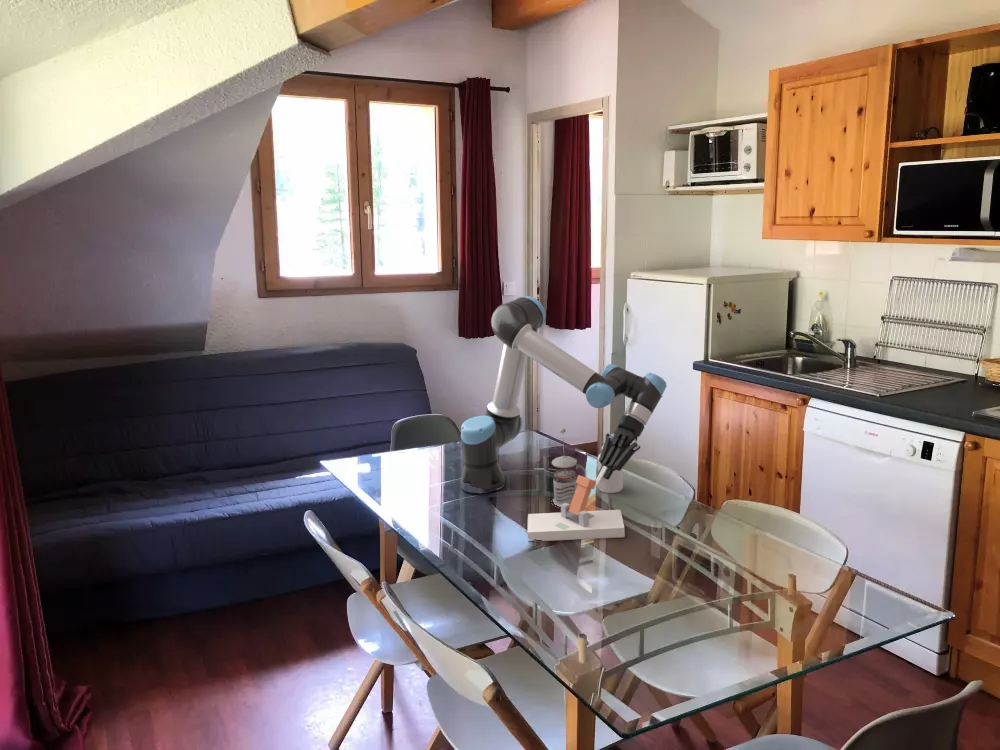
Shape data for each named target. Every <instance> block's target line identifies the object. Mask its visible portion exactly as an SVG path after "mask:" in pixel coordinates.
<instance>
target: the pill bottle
mask: <svg viewBox="0 0 1000 750" xmlns="http://www.w3.org/2000/svg"><path fill="white" fill-rule="evenodd" d="M603 446H604V444H603V445H602V446H601V451H602V449H603ZM600 455H601V453H599V454H598V456H597V473H598V472H599V470H600V468H601V467H602V464H601V463H600V462H599V458H600ZM618 466H619V465H618ZM623 479H624V477H623V468H622V469H621V470H620V471H618V470H615V471H613V473H612V475H611V476H610V478H609V479H608V480H607V481H606V482H605V484H604V486H603V488H602V490H601V489H599V490H600V492H602V493H604V494H616V493H620V492H621V491H622V490H623V488H624V482H623V481H624V480H623Z"/></svg>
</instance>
